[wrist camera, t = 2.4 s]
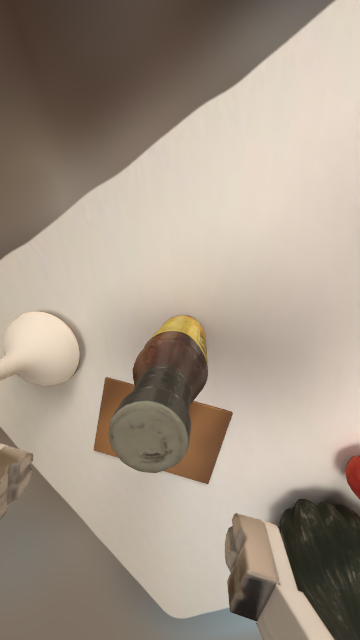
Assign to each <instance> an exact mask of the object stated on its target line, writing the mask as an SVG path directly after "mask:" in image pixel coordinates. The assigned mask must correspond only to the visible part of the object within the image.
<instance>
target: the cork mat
mask: <svg viewBox="0 0 360 640" xmlns="http://www.w3.org/2000/svg"><path fill="white" fill-rule="evenodd" d="M134 387H135V385H132V384H129V383H125V382H122V381H118V380H114V379H111V378H107V377H106V378H105V384H104V390H103V396H102V402H101V408H100V414H99V420H98V427H97V433H96V439H95V445H94V450H95V451H98V452H101V453H105V454H108V455H111V456H115V457H118V456H117V454H116V453H115V452H114V450H113V449H112V447H111V444H110V441H109V436H108V434H109V426H110V421H111V419H112V417H113V415H114V413H115V411H116V410H117V408H118V407H119V405H120V403H121V402H122V400H123V399H124V398H125V397H126V396H127V395H128V394H130V393H132V391H133V390H134ZM232 414H233V413H232V412H230V411H227V410H223V409H219V408H216V407H212V406H209V405H205V404H201V403H198V402H194V401H193V402H192V403H191V404H190V407H189V416H190V419H191V433H190V440H189V446H188V450H187V453H186V454H185V455H184V457H183V458H182V460H181V461H180V462H179V463H177V464H176V465H175V466H173V467H171V468H169V469H167V470H164V471H166V472H169V473H172V474H176V475H179V476H182V477H186V478H189V479H193V480H196V481H199V482H203V483H206V484H208V483H209V480H210V477H211V474H212V471H213V469H214V466H215V463H216V460H217V457H218V454H219V451H220V448H221V445H222V442H223V440H224V437H225V434H226V431H227V428H228V425H229V422H230V419H231V416H232ZM118 458H119V457H118Z"/></svg>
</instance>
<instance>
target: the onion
mask: <svg viewBox="0 0 360 640" xmlns="http://www.w3.org/2000/svg"><path fill="white" fill-rule="evenodd" d="M346 477H347V482H348V484H349V486H350V488H351V489H352V491H353V492H354V493H355V495H356V496H357V497H358V498H359V499H360V456H354V457H352V458H351V460H350V461H349V463H348V465H347V467H346Z"/></svg>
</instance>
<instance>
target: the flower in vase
mask: <svg viewBox="0 0 360 640" xmlns="http://www.w3.org/2000/svg"><path fill="white" fill-rule="evenodd" d="M3 352H4V357H3V358H1V359H0V381H1V380H3V379H5V378H7V377H9V376H11V375H14V374H16V375H18V376H19V377H20V378H22V379H24V380H25V381H28V382H30V383H33V384H36V385H41V386H51V385H56V384H60V383H63V382H65V381H66V380H68V379H69V378H70V377H71V376H72V375H73V374H74V373H75V371H76V369H77V367H78V364H79V355H80V353H79V346H78V342H77V339H76V337H75V335H74V334H73V332H72V331H71V329H70V328H69V327H68V326H67V325H66V324H65V323H64V322H63V321H61V320H60V319H58V318H57V317H55V316H53V315H51V314H48V313H44V312H28V313H25V314H23V315H21V316H19V317H18V318H16V319H15V320H14V321H13V322H12V323H11V324H10V325H9V326H8V328H7V330H6V333H5V336H4V341H3Z"/></svg>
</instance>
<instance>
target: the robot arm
mask: <svg viewBox="0 0 360 640" xmlns="http://www.w3.org/2000/svg"><path fill="white" fill-rule="evenodd" d="M32 461H33V454H32V453H29V452H25V451H22V450H19V449H16V448H13V447H10V446H7V445H4V444H0V519H1V518H2V517H3V516H4V514H5V513H6V510H7V505H8V504H9V503H11V502H12V501H14V500H16V499H18V497H19V496H20V495H21V494H22V492H23V491H24V490H25V488H26V486H27V484H28V483H29V481H30V478H31V475H32V468H31V467H30V465H29V464H30V463H31V462H32ZM232 524H233V526H232V527H230V528H229V529H228V531H227V534H226V541H225V559H226V564H227V566H228V568H229V570H230V572H231V574H230V576H229V578H228V581H227V583H228V594H229V605H230V612H232V613H235V614H237V615H240V616H243V617H246V618H249V619H252V620H254V621H257V623H256V624H257V626H258V629H259V631H260V634H261V636H262V638H263V640H334V638H333V637H332V635H331V634H330V632H329V631H328V630H327V628H326V627H325V625H324V624H323V622H322V621H321V619H320V618H319V616H318V615H317V613H316V612H315V610H314V609H313V607H312V606H311V604H310V603H309V601H308V600H307V598H306V597H305V595H304V594H303V592H300V591H298V589H297V586H296V582H295V579H294V576H293V573H292V570H291V566H290V563H289V560H288V557H287V554H286V550H285V547H284V544H283V541H282V537H281V534H280V531H279V529H278V527H277V525H275V524H271V523H268V522H264V521H261V520H259V519H255V518H252V517H248V516H244V515H241V514H237V513H236V514H235V515H234V516H233V519H232Z"/></svg>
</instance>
